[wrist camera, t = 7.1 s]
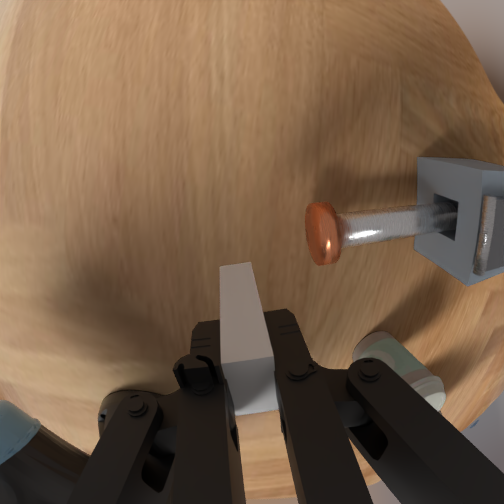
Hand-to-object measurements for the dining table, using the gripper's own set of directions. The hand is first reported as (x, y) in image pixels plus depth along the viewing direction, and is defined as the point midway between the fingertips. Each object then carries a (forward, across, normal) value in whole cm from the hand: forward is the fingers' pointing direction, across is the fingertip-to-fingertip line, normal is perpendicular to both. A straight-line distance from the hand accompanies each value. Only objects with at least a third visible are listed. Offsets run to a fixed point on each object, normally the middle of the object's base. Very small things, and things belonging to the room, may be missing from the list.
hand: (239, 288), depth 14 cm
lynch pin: (+9, +13, 0) cm, 16 cm away
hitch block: (+11, +24, 0) cm, 27 cm away
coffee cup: (+11, +15, -18) cm, 26 cm away
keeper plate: (+2, +24, 0) cm, 24 cm away
